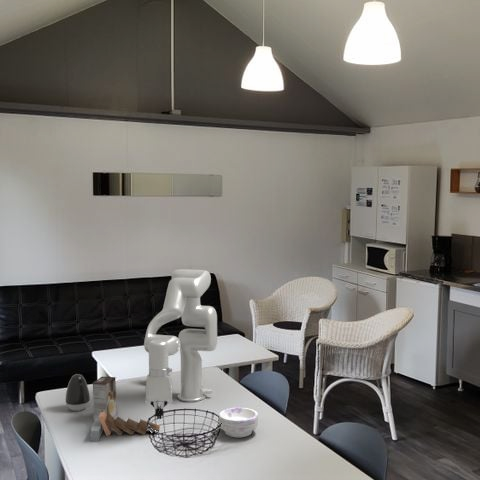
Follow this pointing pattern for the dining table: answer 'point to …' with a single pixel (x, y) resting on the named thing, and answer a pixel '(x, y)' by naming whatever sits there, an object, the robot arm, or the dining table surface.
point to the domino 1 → (105, 426)
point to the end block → (96, 430)
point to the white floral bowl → (238, 421)
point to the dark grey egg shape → (77, 393)
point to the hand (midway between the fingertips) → (159, 417)
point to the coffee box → (104, 396)
